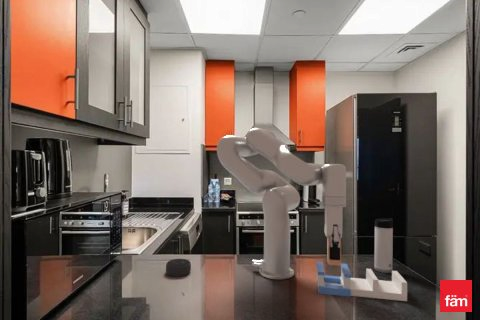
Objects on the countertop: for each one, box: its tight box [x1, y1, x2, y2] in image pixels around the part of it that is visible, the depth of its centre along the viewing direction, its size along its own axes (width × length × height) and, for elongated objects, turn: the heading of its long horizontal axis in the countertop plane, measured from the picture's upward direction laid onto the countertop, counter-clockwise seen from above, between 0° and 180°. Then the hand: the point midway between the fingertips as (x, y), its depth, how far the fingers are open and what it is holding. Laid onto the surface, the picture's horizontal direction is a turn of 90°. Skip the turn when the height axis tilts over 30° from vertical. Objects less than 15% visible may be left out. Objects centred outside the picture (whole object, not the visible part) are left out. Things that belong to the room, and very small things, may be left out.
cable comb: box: [316, 260, 408, 302], centre depth 96 cm, size 26×11×6 cm, turn 78°
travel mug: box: [373, 217, 395, 274], centre depth 115 cm, size 6×7×20 cm
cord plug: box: [326, 235, 342, 267], centre depth 98 cm, size 4×4×11 cm
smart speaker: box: [165, 258, 192, 277], centre depth 109 cm, size 9×9×4 cm
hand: (334, 256), depth 98 cm, fingers closed on cord plug, 4 cm apart
